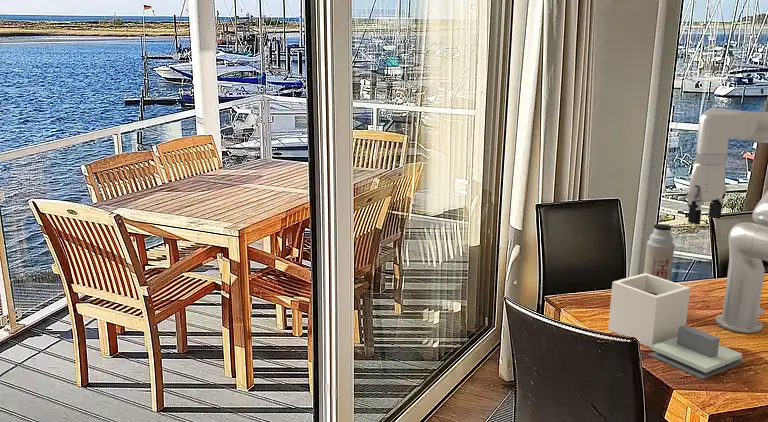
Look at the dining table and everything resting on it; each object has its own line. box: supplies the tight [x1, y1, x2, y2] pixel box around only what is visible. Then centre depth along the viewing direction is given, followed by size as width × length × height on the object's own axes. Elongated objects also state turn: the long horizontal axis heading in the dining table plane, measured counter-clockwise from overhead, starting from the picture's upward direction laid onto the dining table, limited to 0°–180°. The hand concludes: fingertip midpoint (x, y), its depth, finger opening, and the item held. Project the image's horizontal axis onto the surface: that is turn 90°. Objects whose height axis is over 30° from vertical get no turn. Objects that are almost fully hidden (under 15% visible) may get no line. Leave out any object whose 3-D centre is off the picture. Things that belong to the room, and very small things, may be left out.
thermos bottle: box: [643, 223, 676, 282], centre depth 215 cm, size 8×8×28 cm
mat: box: [648, 351, 744, 380], centre depth 185 cm, size 18×16×1 cm
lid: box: [651, 324, 743, 373], centre depth 184 cm, size 16×16×7 cm
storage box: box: [607, 272, 691, 349], centre depth 199 cm, size 15×15×15 cm
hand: (704, 220), depth 188 cm, fingers open, 9 cm apart
